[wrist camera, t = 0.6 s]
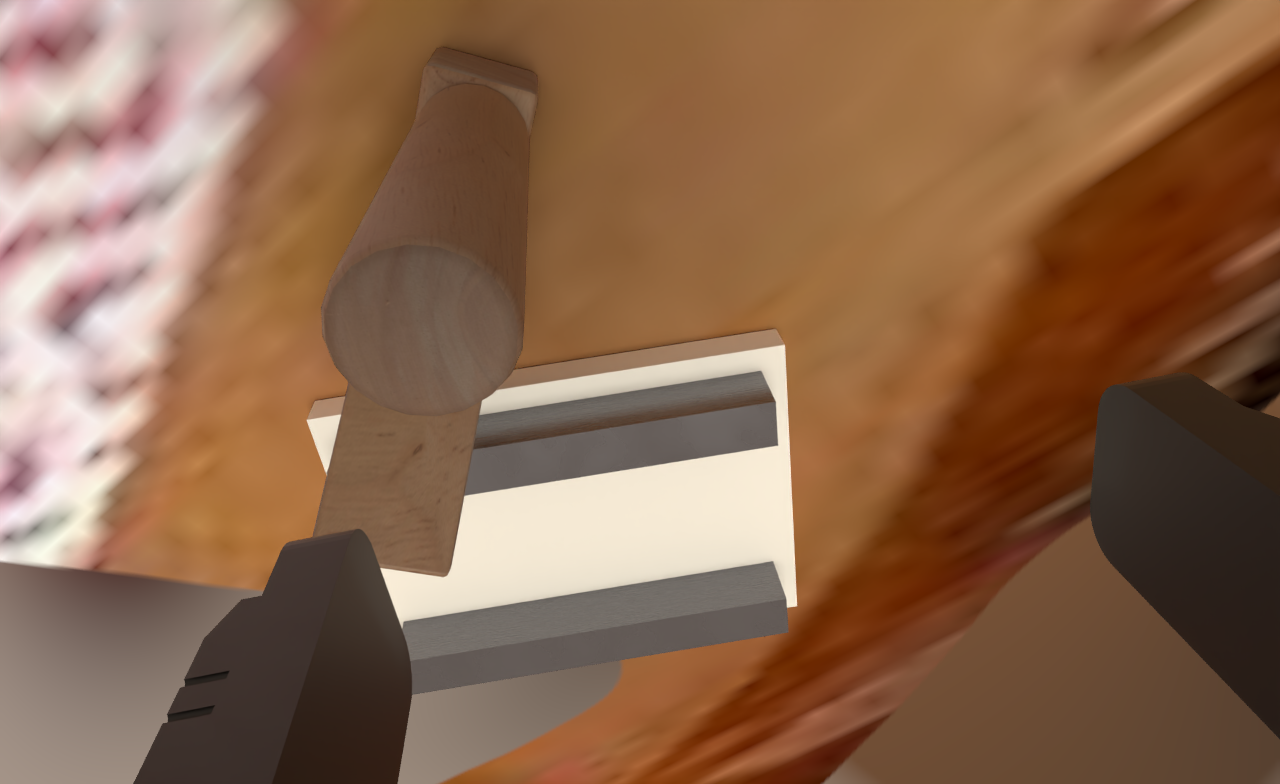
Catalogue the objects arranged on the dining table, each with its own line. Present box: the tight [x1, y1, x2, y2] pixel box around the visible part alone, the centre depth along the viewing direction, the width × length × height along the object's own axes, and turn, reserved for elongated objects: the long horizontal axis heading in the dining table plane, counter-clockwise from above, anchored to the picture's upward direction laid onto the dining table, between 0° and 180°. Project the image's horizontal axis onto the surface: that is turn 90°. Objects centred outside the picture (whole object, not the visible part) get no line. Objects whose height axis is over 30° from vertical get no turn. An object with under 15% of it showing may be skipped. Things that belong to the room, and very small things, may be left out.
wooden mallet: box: [313, 47, 538, 577], centre depth 25 cm, size 4×11×18 cm, turn 164°
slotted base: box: [307, 329, 797, 695], centre depth 38 cm, size 14×19×4 cm
